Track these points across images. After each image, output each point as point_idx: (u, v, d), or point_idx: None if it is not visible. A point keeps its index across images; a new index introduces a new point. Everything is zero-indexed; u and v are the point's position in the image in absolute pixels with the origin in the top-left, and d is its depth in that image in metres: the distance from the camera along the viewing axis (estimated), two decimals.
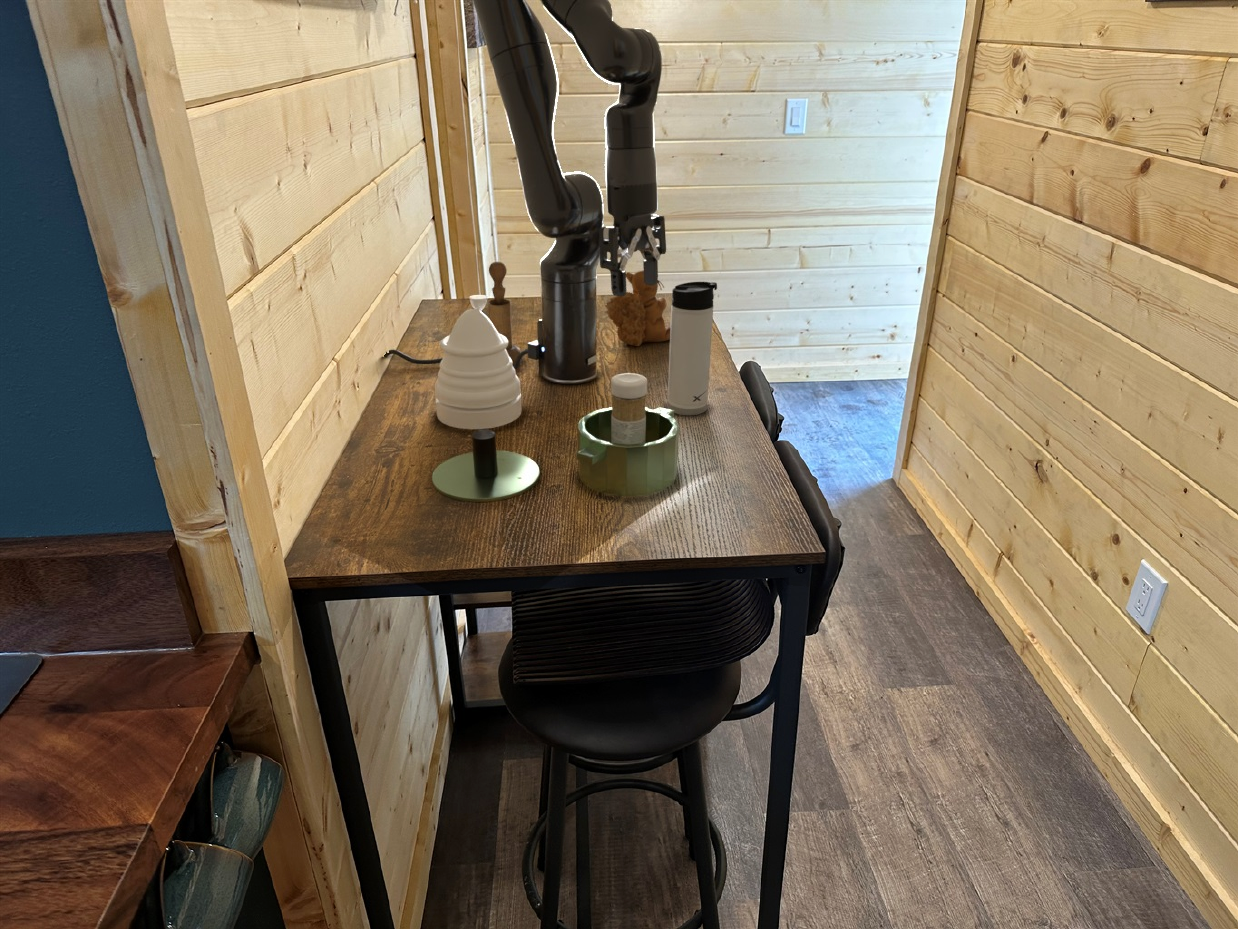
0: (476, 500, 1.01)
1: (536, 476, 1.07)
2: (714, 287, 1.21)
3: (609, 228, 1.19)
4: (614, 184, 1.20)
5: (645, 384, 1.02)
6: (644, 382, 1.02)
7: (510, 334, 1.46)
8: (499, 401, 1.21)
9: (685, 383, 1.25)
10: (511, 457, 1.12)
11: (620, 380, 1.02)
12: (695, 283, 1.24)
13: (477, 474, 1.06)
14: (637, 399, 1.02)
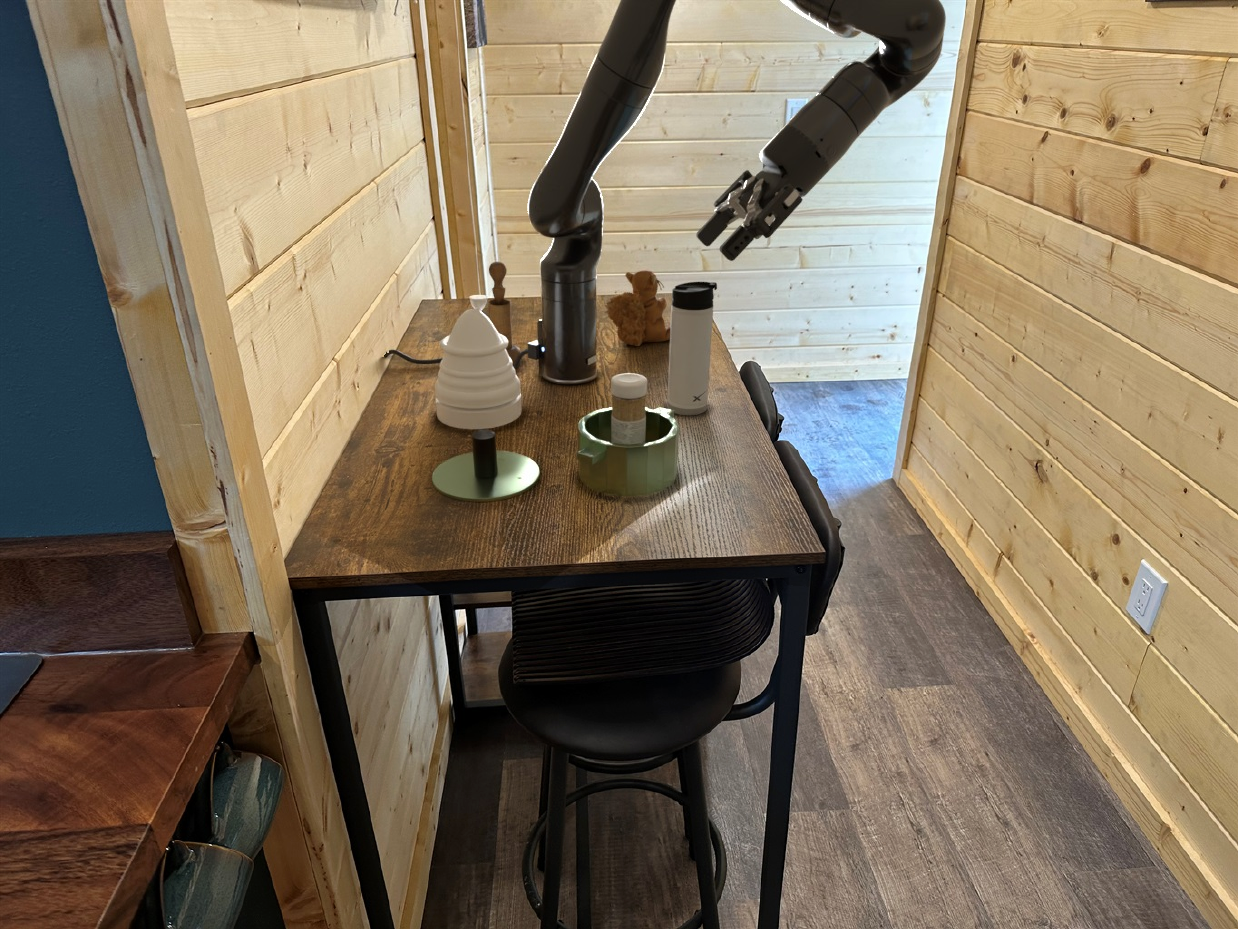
0: (476, 500, 1.01)
1: (536, 476, 1.07)
2: (714, 287, 1.21)
3: (798, 195, 0.94)
4: (819, 148, 0.95)
5: (645, 384, 1.02)
6: (644, 382, 1.02)
7: (510, 334, 1.46)
8: (499, 401, 1.21)
9: (685, 383, 1.25)
10: (511, 457, 1.12)
11: (620, 380, 1.02)
12: (695, 283, 1.24)
13: (477, 474, 1.06)
14: (637, 399, 1.02)
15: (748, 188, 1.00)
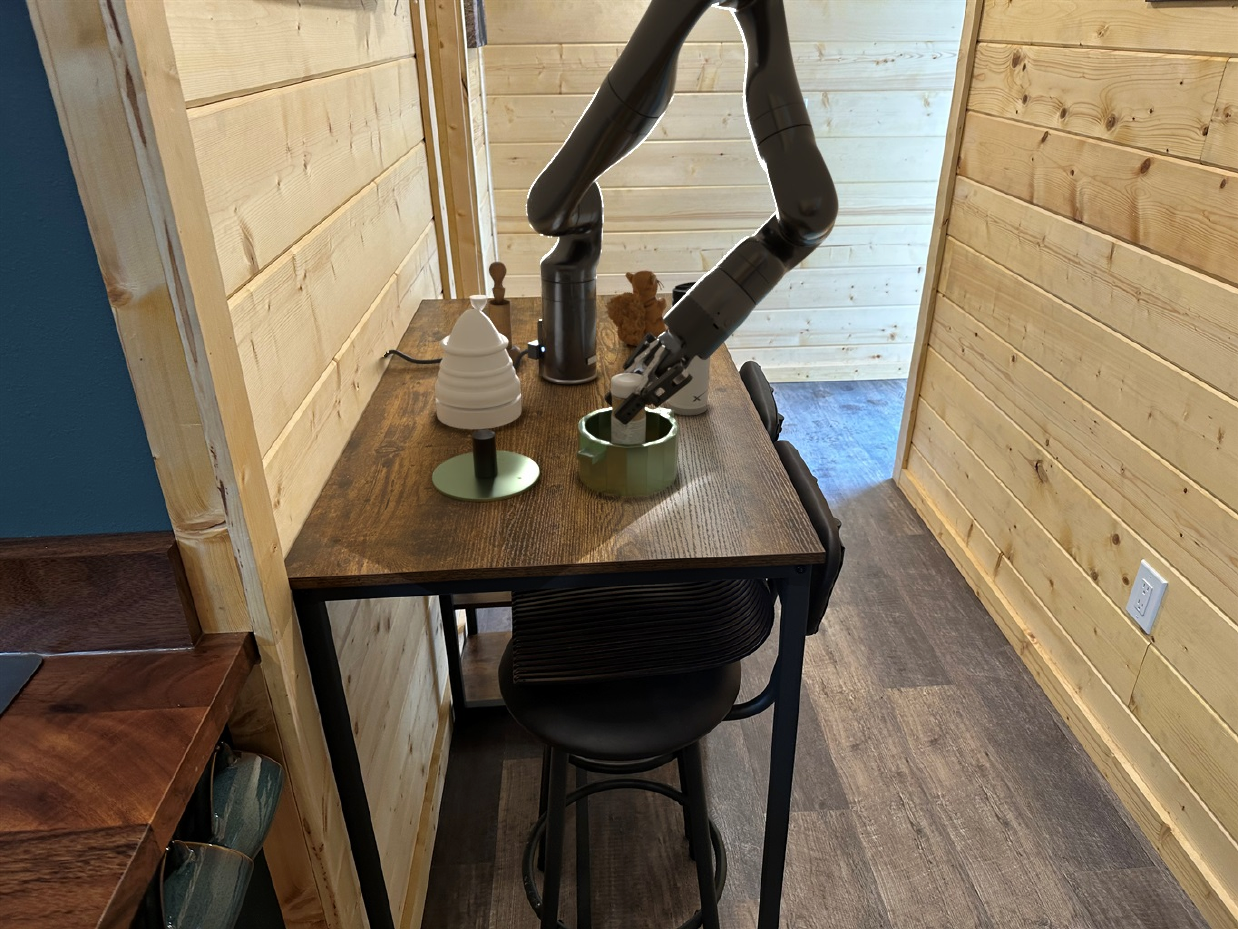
0: (476, 500, 1.01)
1: (536, 476, 1.07)
2: None
3: (688, 375, 0.97)
4: (716, 320, 0.98)
5: None
6: None
7: (510, 334, 1.46)
8: (499, 401, 1.21)
9: None
10: (511, 457, 1.12)
11: (620, 380, 1.02)
12: (695, 283, 1.24)
13: (477, 474, 1.06)
14: None
15: (653, 351, 1.03)
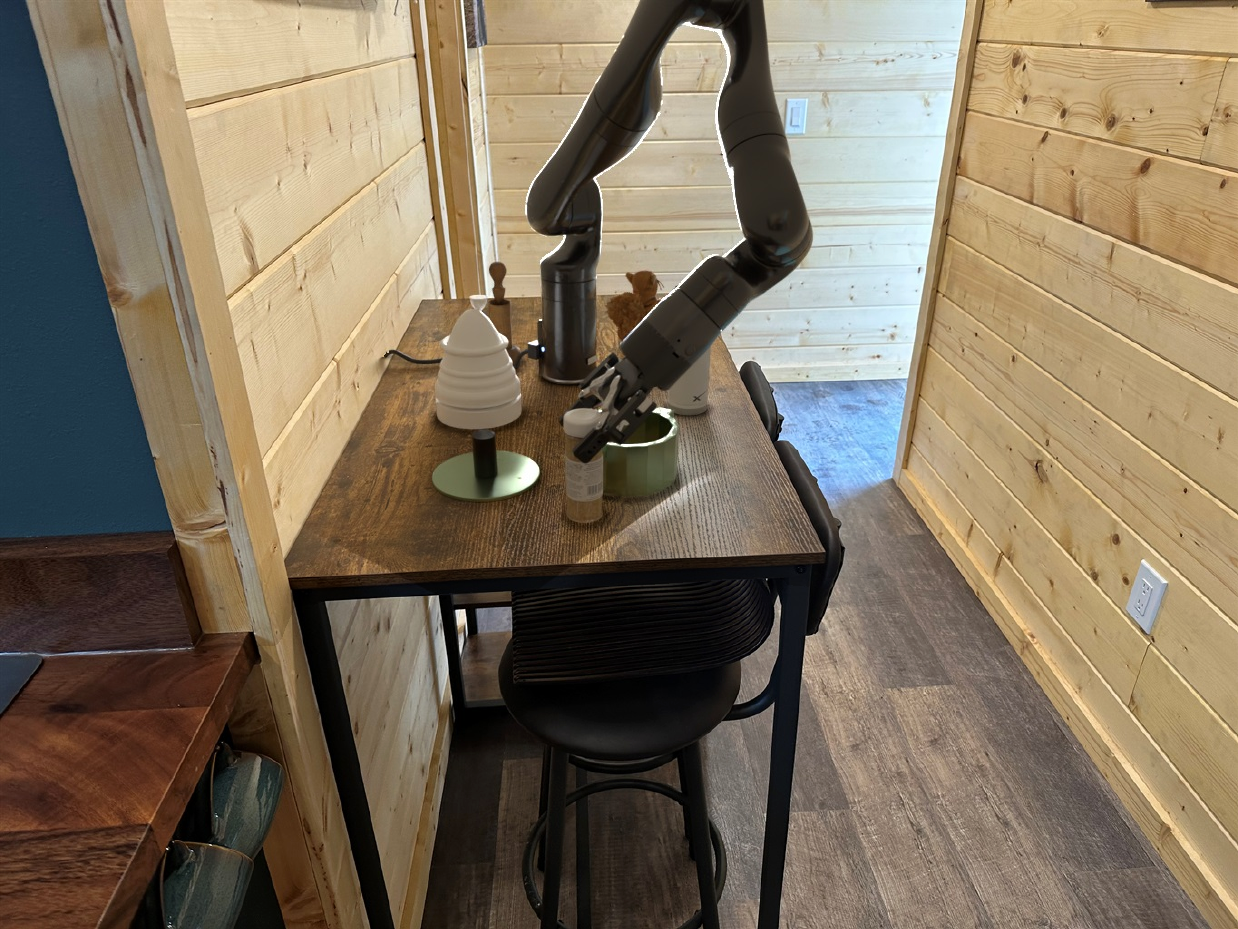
0: (476, 500, 1.01)
1: (536, 476, 1.07)
2: None
3: (652, 402, 0.88)
4: (676, 349, 0.89)
5: None
6: None
7: (510, 334, 1.46)
8: (499, 401, 1.21)
9: (685, 383, 1.25)
10: (511, 457, 1.12)
11: (573, 417, 0.93)
12: None
13: (477, 474, 1.06)
14: None
15: (608, 380, 0.94)
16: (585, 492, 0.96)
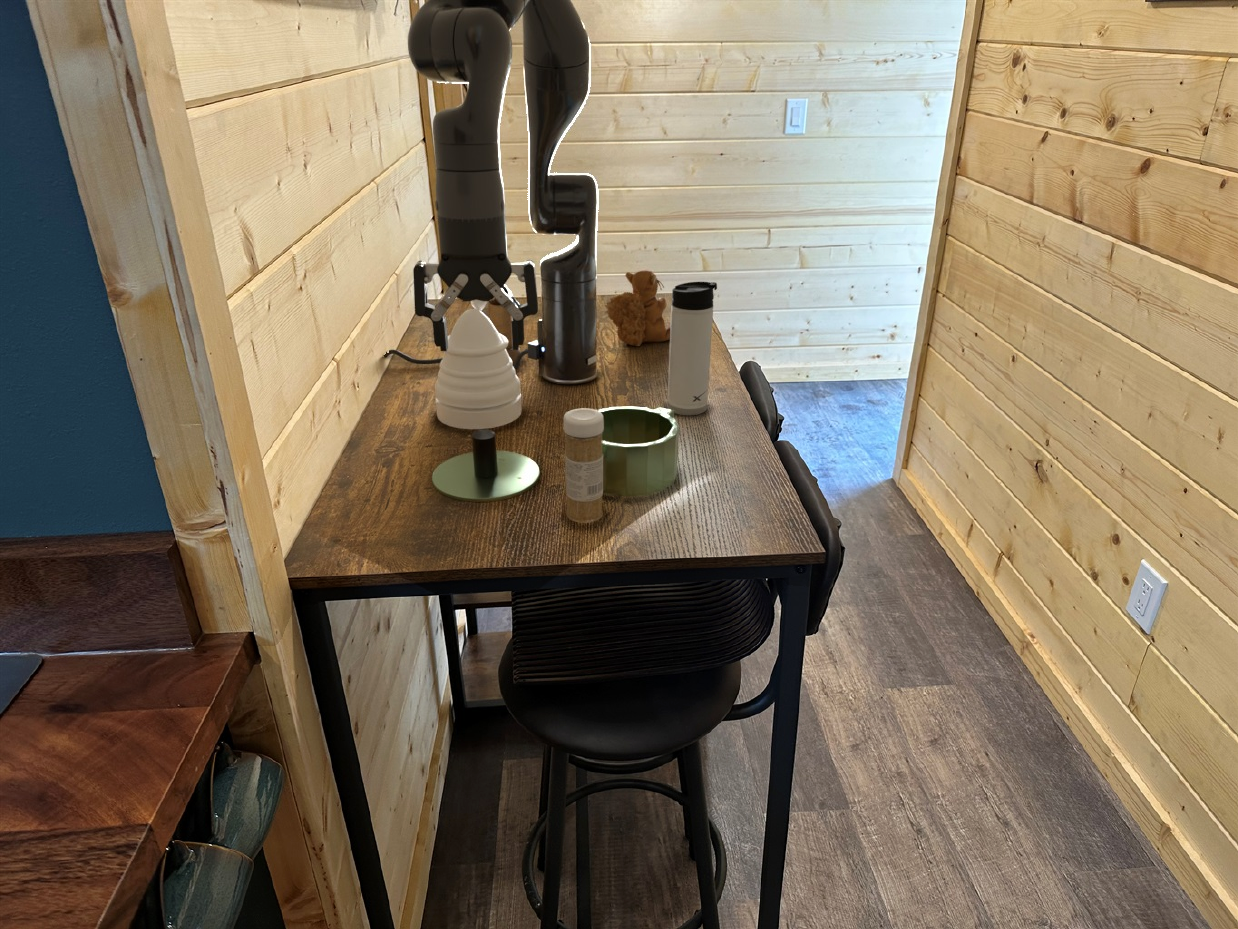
0: (476, 500, 1.01)
1: (536, 476, 1.07)
2: (714, 287, 1.21)
3: (416, 265, 0.94)
4: None
5: (601, 421, 0.93)
6: (600, 419, 0.93)
7: (510, 334, 1.46)
8: (499, 401, 1.21)
9: (685, 383, 1.25)
10: (511, 457, 1.12)
11: (573, 417, 0.93)
12: (695, 283, 1.24)
13: (477, 474, 1.06)
14: (592, 438, 0.93)
15: None
16: (585, 492, 0.96)
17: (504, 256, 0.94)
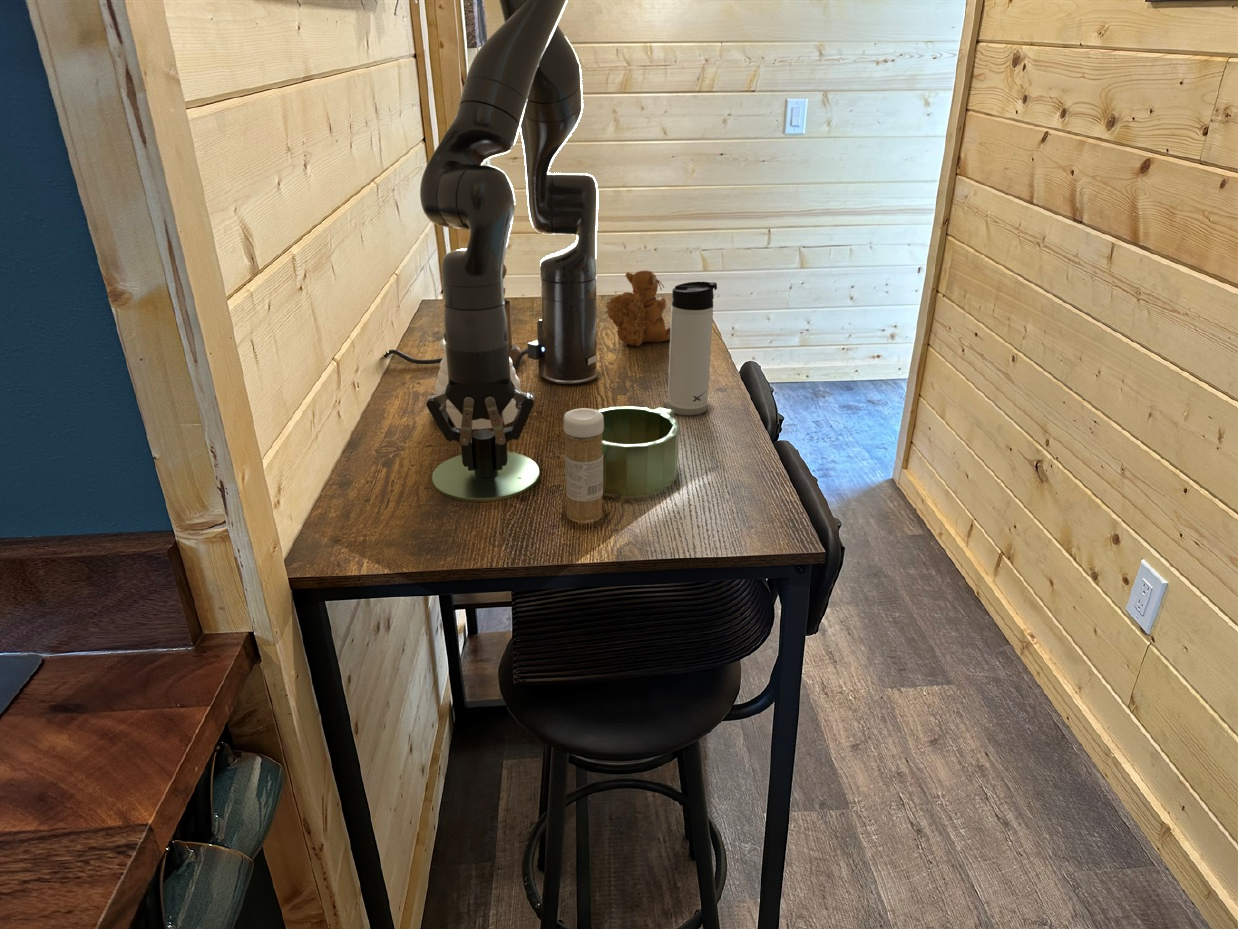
0: (476, 500, 1.01)
1: (536, 476, 1.07)
2: (714, 287, 1.21)
3: (427, 400, 1.02)
4: None
5: (601, 421, 0.93)
6: (600, 419, 0.93)
7: (510, 334, 1.46)
8: None
9: (685, 383, 1.25)
10: (511, 457, 1.12)
11: (573, 417, 0.93)
12: (695, 283, 1.24)
13: (477, 474, 1.06)
14: (592, 438, 0.93)
15: None
16: (585, 492, 0.96)
17: (507, 380, 1.01)
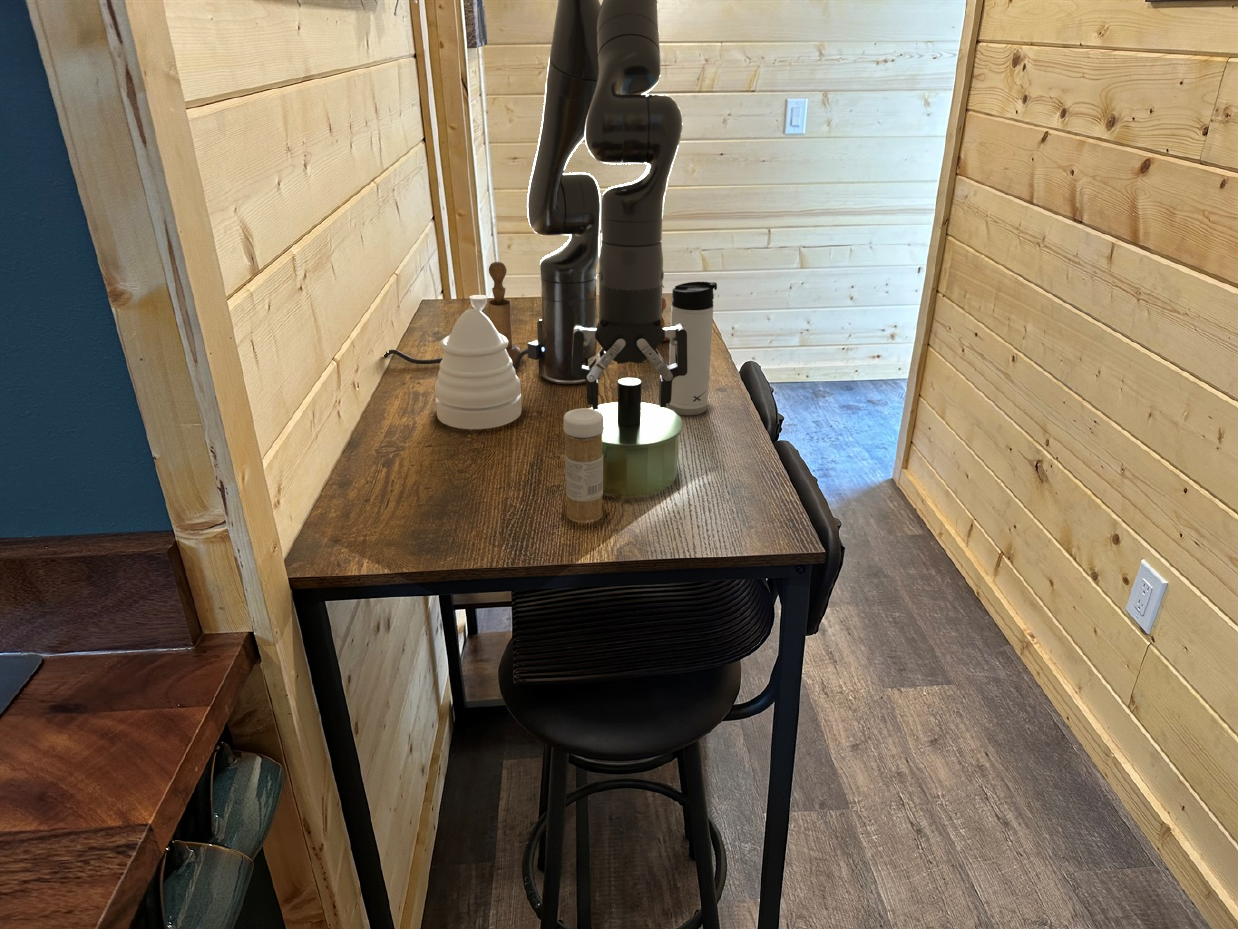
0: (627, 447, 1.00)
1: (681, 425, 1.05)
2: (714, 287, 1.21)
3: (575, 329, 0.99)
4: None
5: (601, 421, 0.93)
6: (600, 419, 0.93)
7: (510, 334, 1.46)
8: (499, 401, 1.21)
9: (685, 383, 1.25)
10: (648, 407, 1.10)
11: (573, 417, 0.93)
12: (695, 283, 1.24)
13: (621, 422, 1.04)
14: (592, 438, 0.93)
15: None
16: (585, 492, 0.96)
17: (659, 322, 0.99)
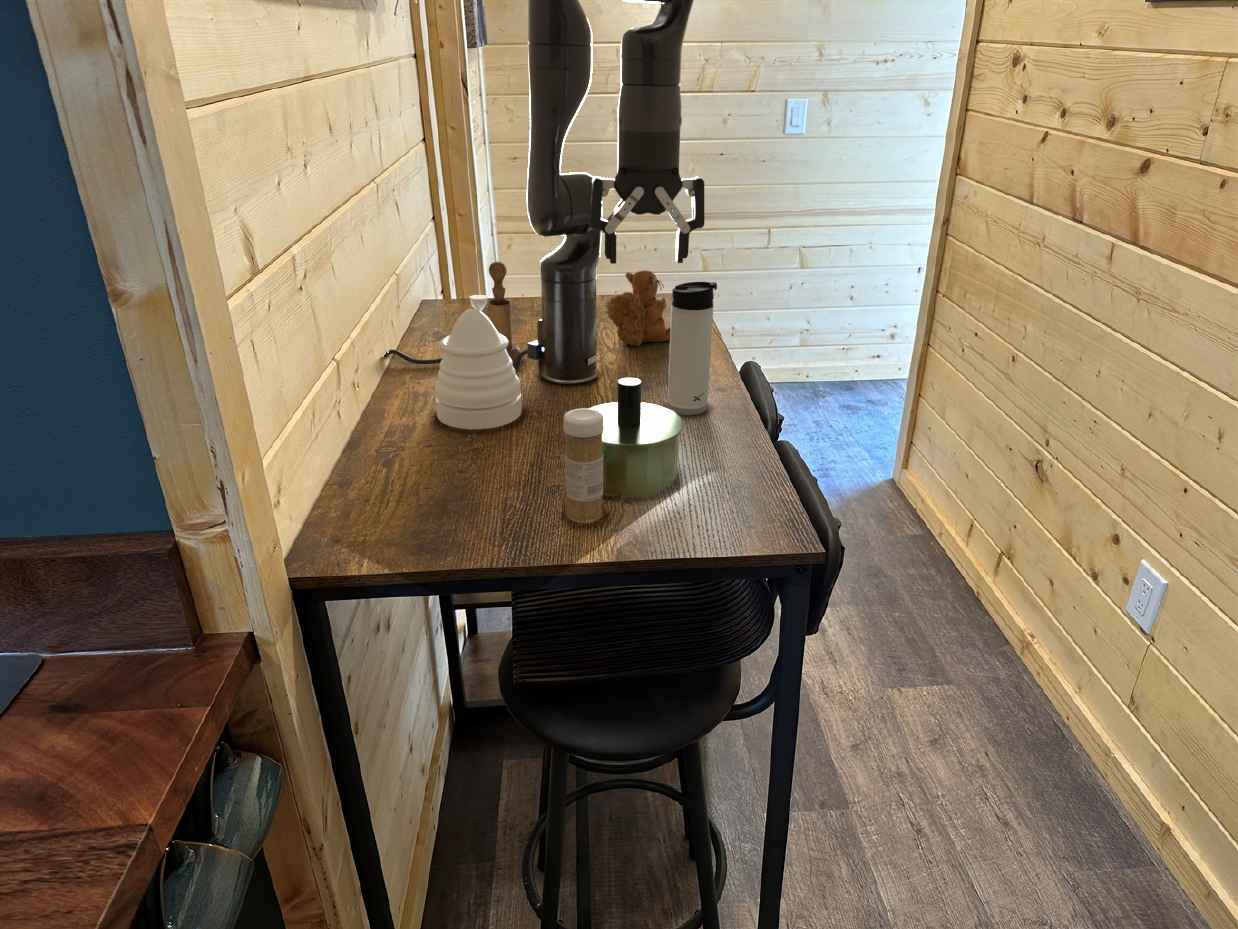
0: (627, 447, 1.00)
1: (681, 425, 1.05)
2: (714, 287, 1.21)
3: (594, 178, 1.01)
4: None
5: (601, 421, 0.93)
6: (600, 419, 0.93)
7: (510, 334, 1.46)
8: (499, 401, 1.21)
9: (685, 383, 1.25)
10: (648, 407, 1.10)
11: (573, 417, 0.93)
12: (695, 283, 1.24)
13: (621, 422, 1.04)
14: (592, 438, 0.93)
15: None
16: (585, 492, 0.96)
17: (677, 170, 1.01)
